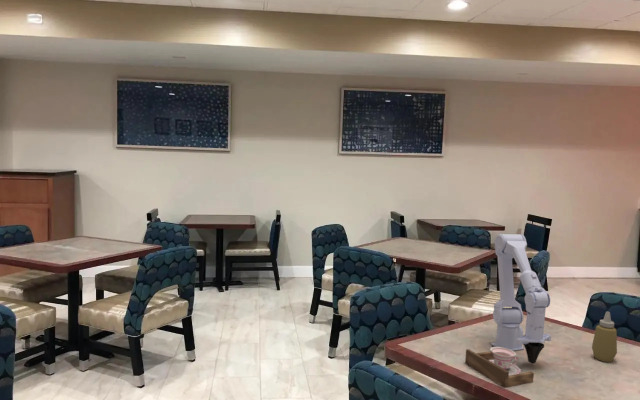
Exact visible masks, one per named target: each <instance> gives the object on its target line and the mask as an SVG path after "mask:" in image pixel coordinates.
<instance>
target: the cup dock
mask: <svg viewBox="0 0 640 400" xmlns="http://www.w3.org/2000/svg"><path fill="white" fill-rule="evenodd" d="M489 360H494V356H493V354H492V352H491V350H490V351H484V352H478V353H477V352H475V351H472V350H471V349H469V348H467V349H466V350H465V359H464V364H465V365H468V367H471V368H473V369H474V370H475V371H477V372H478V373H480V374H481V375H484V376H485V377H487V378H488V379H489V380H492V381H493V382H495V383H497V384H498V385H499V386H502V387H503V388H511V387H514V386H519V385H524V384H531V383H533V382H534V374H535V373H534V372H533V371H526V372H521V373H520V374H515V375H510V376H509V372H508V371H509V370H505V369H503V368H501V367H499V366H498V365H496V364H494V363H492V362H490V361H489Z"/></svg>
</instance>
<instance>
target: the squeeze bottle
mask: <svg viewBox="0 0 640 400" xmlns="http://www.w3.org/2000/svg"><path fill="white" fill-rule="evenodd" d="M611 317H612V316H611V312H610V311H606V312H605V314H604V316H603V319H599V324H598V325H596V326H595V332H594V335H593V339H592V345H591V350H592V353H593V357H594V358H595V359H597V360H598V361H601V362H605V361H606V362H607V363H610V362H611V361H612V362H613V361H614V360H615V357H616V355H617V353H618V342H617V341H618V340H617V339H618V338H617V336H618V335H617V334H618V333H617V332H618V331H617V328H615V322H614V321H613V320H612V319H611Z"/></svg>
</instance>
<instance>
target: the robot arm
mask: <svg viewBox="0 0 640 400" xmlns="http://www.w3.org/2000/svg"><path fill="white" fill-rule="evenodd" d="M527 247H528V243H527V239H526V236H525V235H524V234H522V233H518V234H514V233H513V234H512V233H511V234H509V233H507V234H506V233H505V234H504V233H498V234H497V236H496V237H495V239H494V251H495V252H494V253H495V255H496V256H497V267H498V284H499V286H498V287H499V296H500V297H499V298H500V299H499V300H497V302H495V303H494V304H493V312H492V317H493V321H494V323H495V324H496V335H495V336H496V338H495V342H491V343H490V345H491V346H493V347H503V348H507V349H510V350H512V351H514V352H515V351H519V350H520V351H521V350H524V349H525V353H526V357H527V362H529V363H530V364H536V363H537V360H538V357H539V355H540V354H541V352H542V350H543V349H544V348H545V342H551V341H552V335H550V334H549V333H544V331H545V330H544V329H545V321H546V320H545V319H546V309H547V308H548V307H550V305H551V297H550V294H549V292H548V291H547V290H545V288H543V287H542V285H541V282H540V280H539V277H538V275H537V273H536V272H535V271H533V270H532V268H531V265H530V261H529V259H528V255H527V251H526V249H527ZM513 259H514V261H515V263H516V265H517V267H518V269H519V271H520V273H521V274H520V276H519V280H520V283H521V286H522V287H523V290H524V293H525V296H524V303H525V311H526V321H525V333H524V330H523V327H522V326H521V324H522V323H523V321H524V312H523V310H522V304H521V303H520V302H518V301H517V300H516V298H515V297H516V295H515V284H514V273H513V271H514V270H513Z"/></svg>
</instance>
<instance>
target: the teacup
mask: <svg viewBox="0 0 640 400" xmlns="http://www.w3.org/2000/svg"><path fill="white" fill-rule="evenodd" d="M489 349H490V351H491V352H492V354H493V356H494V360H489V361H490V362H492V363H494V364H496V365H498V366H499V367H501V368H503V369H505V370H506V371H508V372H509V376H510V375H515V374H520V373H522V370H521V368H520V367H519V366H518V365H517V363H518V360H519V357H518V356H517V352H515V351H512V350H510V349H507V348H503V347H495V346H493V347H492V346H491V347H490V348H489ZM516 356H517V357H516ZM514 359H515V362H514V363H512V362H511V361H512V360H514Z"/></svg>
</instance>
